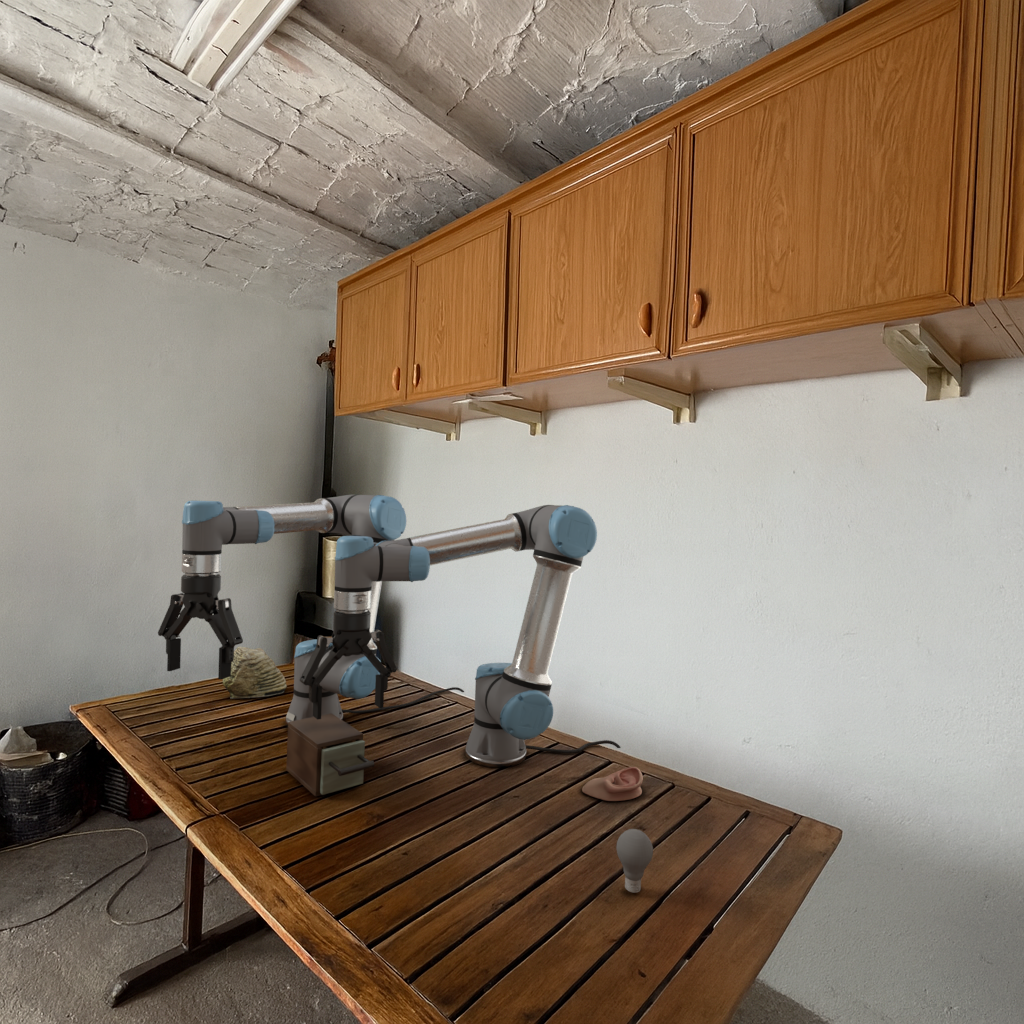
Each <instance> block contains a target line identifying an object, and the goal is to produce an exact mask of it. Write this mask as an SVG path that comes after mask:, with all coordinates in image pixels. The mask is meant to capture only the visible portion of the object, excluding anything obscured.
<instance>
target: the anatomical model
mask: <svg viewBox="0 0 1024 1024" xmlns="http://www.w3.org/2000/svg"><path fill="white" fill-rule="evenodd" d="M643 782H644V775H643V773H642V771H641V770H640V769H639V768H638V767H637V766H630V767H625V768H623V769H620V770H617V771H615V772H613V773H610V774H608V775H605V776H604V777H596V778H595V777H594V778H592V779H590V780H588V781H587V782H586V783H585V784H584V785H583V786H582V788H581V792H582V793H583V794H585V795H587V796H590V797H593V798H595V799H598V800H602V801H606V802H619V801H621V802H622V801H628V800H633V799H635V798H638V797H640V796H641V795H642V793H643V789H642V787H641V786H642V784H643Z"/></svg>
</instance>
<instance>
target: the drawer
mask: <svg viewBox="0 0 1024 1024" xmlns="http://www.w3.org/2000/svg"><path fill="white" fill-rule="evenodd" d="M365 747H366V741H365V740H364V739H363V740H360V741H356V740H352V741H348V742H343V743H339V744H335V745H331V746H326V747H322V751H321V776H320V793H321V794H322V795H321V796H325V795H327V794H331V793H334V792H338V791H342V790H345V789H349V788H352V787H355V786H359V785H362V784H364V774H365V773H364V772H365V770H368V769H372V768H374V767H375V762H374V760H369V759H367V758H366V757H365V749H366V748H365Z"/></svg>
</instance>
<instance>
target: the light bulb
mask: <svg viewBox="0 0 1024 1024" xmlns="http://www.w3.org/2000/svg"><path fill="white" fill-rule="evenodd" d="M615 849H616V854H617V857H618V859H619V861H620V863H621V865H622V867H623V873H624V874H623V875H624V876H625V878H624V888H625V890H627V891H628V892H630V893H634V894H635V893H639V892H640V891H641V889H642V887H641V886H642V879H643V877H644V875H645V871H646V868H647V867H648V866H649V864H650V863H651V861H652V859H653V855H654V847H653V843H652V841H651V838H649V836H648V835H647V834H646V833H645V832H643V831H642V830H641V829H636V828H629V829H627V830H625V831H623V832H622V833H621V834H620V835H619V837H618V839H617V841H616V847H615Z"/></svg>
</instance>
